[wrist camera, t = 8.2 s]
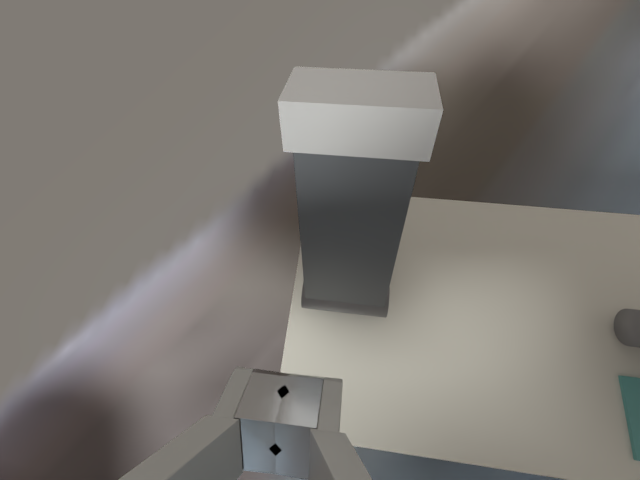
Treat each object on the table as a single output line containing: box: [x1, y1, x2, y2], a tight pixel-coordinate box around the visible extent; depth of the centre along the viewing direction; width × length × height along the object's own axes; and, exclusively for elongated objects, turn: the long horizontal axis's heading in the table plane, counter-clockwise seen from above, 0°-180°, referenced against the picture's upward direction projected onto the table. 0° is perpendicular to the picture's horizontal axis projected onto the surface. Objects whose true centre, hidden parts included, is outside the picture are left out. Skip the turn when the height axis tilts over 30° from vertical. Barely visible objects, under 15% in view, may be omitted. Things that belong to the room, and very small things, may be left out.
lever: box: [278, 67, 443, 318], centre depth 14 cm, size 2×4×12 cm, turn 83°
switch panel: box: [280, 197, 640, 480], centre depth 20 cm, size 14×22×3 cm, turn 83°
